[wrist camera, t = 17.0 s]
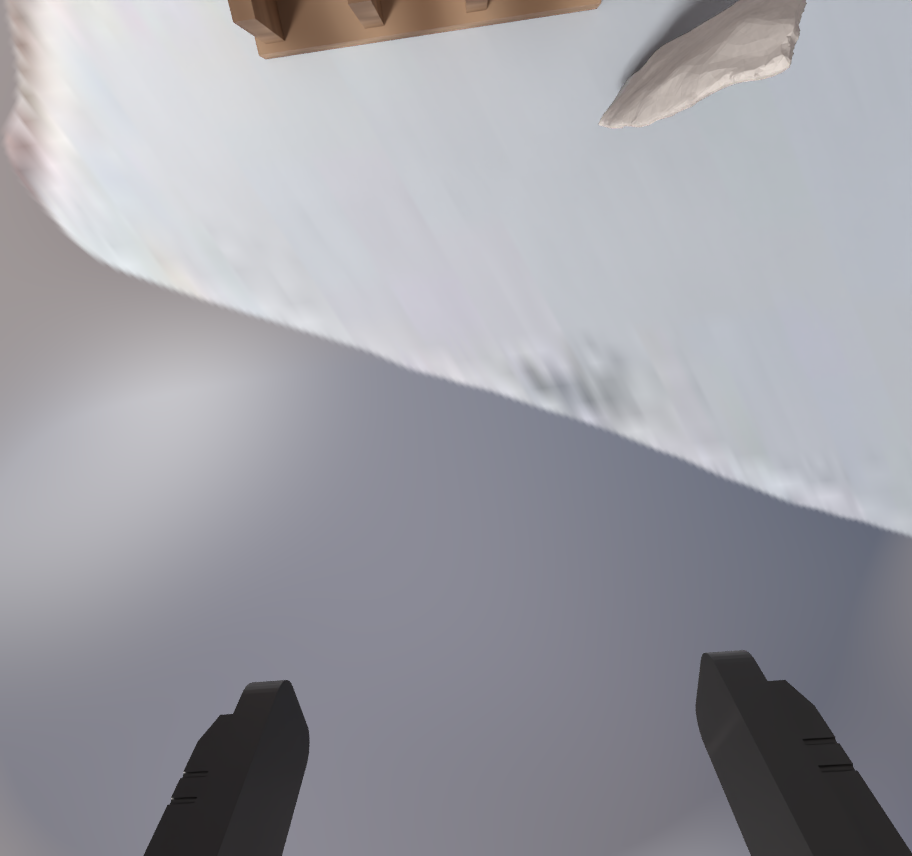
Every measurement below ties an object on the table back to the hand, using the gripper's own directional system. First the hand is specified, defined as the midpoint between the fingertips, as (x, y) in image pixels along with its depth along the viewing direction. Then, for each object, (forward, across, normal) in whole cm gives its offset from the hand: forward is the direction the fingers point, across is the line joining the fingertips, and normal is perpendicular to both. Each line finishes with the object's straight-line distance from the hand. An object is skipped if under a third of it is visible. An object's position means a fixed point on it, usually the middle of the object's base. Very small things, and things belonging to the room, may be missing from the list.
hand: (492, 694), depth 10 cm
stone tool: (+33, -13, -13) cm, 38 cm away
